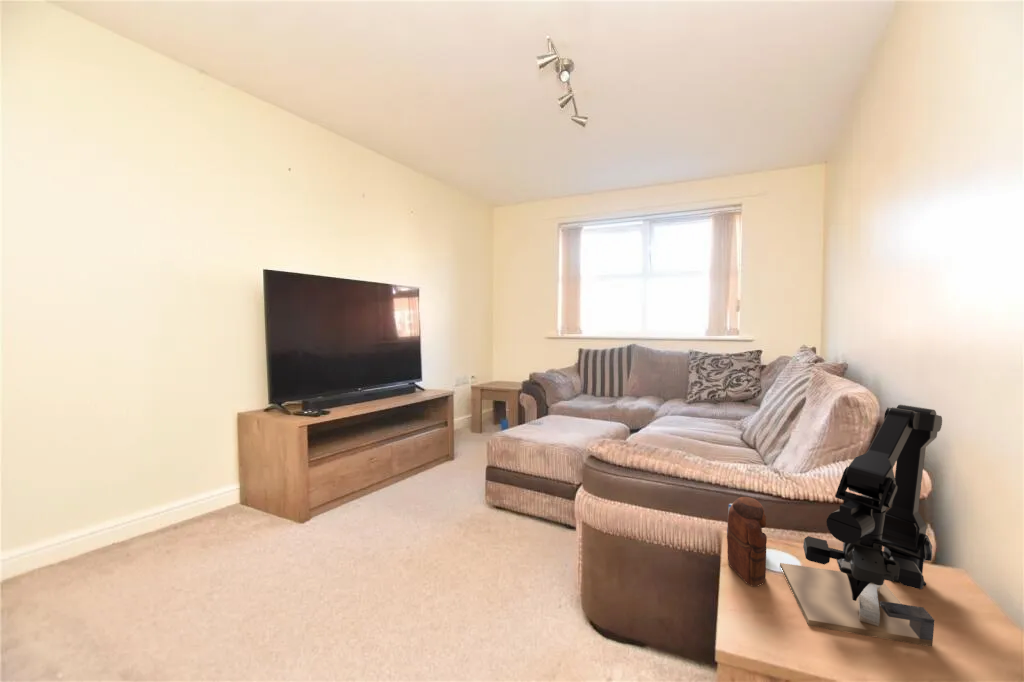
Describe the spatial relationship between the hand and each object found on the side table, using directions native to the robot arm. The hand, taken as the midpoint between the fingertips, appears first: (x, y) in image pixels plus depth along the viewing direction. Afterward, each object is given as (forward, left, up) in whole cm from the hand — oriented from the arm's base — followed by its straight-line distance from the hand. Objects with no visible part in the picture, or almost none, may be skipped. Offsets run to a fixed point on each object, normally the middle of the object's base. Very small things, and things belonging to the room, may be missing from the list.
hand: (854, 599), depth 93 cm
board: (0, -3, -3) cm, 4 cm away
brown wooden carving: (+18, -9, -3) cm, 20 cm away
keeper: (-6, +5, -3) cm, 9 cm away
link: (-3, -2, -1) cm, 4 cm away
